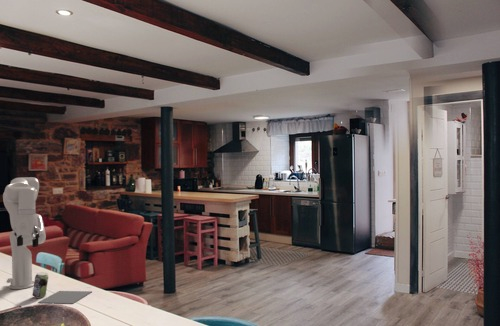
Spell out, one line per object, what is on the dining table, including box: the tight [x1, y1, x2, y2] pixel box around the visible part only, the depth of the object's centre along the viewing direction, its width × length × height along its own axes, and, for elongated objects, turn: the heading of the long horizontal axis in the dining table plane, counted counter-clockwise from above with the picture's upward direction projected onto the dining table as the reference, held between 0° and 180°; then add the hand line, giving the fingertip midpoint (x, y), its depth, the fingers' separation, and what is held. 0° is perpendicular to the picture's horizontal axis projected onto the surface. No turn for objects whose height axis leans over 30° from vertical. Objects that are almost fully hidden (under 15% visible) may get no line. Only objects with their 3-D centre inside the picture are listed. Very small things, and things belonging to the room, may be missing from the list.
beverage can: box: [31, 271, 49, 299], centre depth 208 cm, size 6×7×12 cm
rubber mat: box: [37, 290, 93, 305], centre depth 206 cm, size 18×18×1 cm
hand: (27, 246), depth 208 cm, fingers open, 9 cm apart
